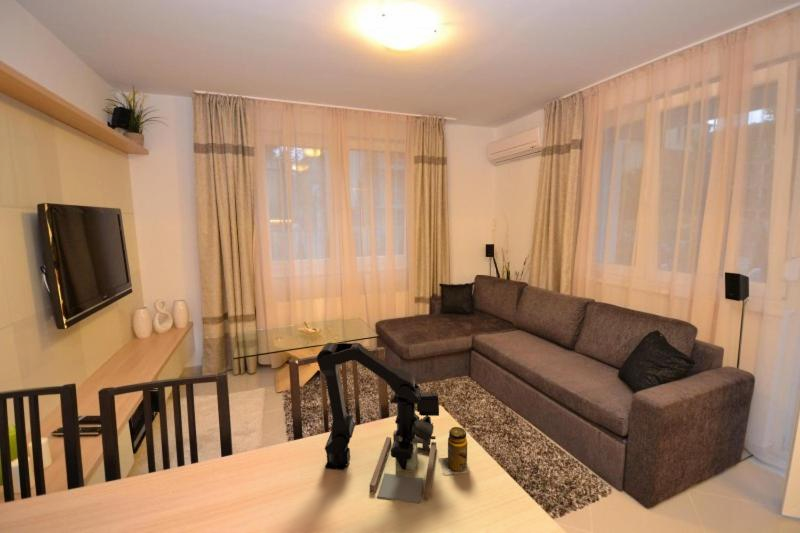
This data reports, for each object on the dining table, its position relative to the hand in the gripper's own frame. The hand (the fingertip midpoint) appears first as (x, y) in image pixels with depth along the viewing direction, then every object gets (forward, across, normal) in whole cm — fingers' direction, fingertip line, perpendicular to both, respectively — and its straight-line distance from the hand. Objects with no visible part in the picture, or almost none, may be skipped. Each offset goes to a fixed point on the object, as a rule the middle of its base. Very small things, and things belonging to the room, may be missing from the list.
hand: (406, 458), depth 114 cm
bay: (+2, -2, 0) cm, 3 cm away
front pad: (+2, -10, 0) cm, 10 cm away
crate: (+2, 0, 0) cm, 2 cm away
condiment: (+2, +2, -15) cm, 15 cm away
